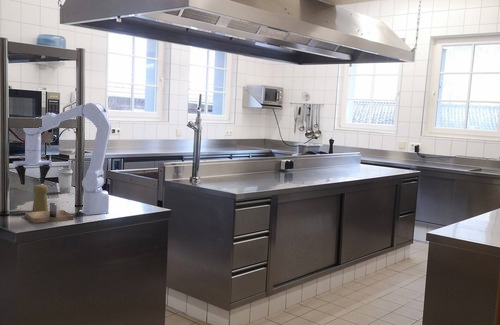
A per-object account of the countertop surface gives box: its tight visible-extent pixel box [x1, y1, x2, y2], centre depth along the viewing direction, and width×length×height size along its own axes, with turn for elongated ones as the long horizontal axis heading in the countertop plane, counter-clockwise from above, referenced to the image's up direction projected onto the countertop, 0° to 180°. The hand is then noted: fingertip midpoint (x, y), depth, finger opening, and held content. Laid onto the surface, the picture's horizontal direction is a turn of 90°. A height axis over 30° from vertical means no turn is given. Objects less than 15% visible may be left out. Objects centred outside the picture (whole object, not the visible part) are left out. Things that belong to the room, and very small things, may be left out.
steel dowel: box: [49, 202, 58, 217], centre depth 180 cm, size 2×2×5 cm
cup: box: [57, 168, 74, 194], centre depth 236 cm, size 7×7×12 cm
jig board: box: [24, 209, 74, 224], centre depth 184 cm, size 14×12×2 cm
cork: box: [31, 184, 49, 212], centre depth 193 cm, size 6×6×11 cm
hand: (32, 183), depth 197 cm, fingers open, 7 cm apart
